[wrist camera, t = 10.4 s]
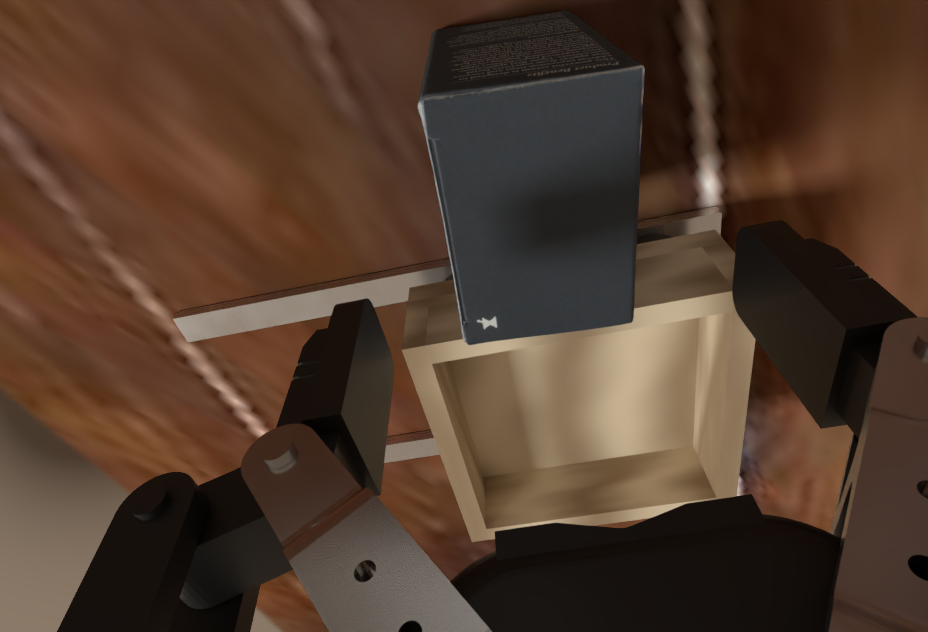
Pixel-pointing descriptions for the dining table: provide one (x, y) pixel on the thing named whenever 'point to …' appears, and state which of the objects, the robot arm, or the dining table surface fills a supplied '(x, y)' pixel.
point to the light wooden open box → (592, 399)
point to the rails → (380, 292)
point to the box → (535, 173)
